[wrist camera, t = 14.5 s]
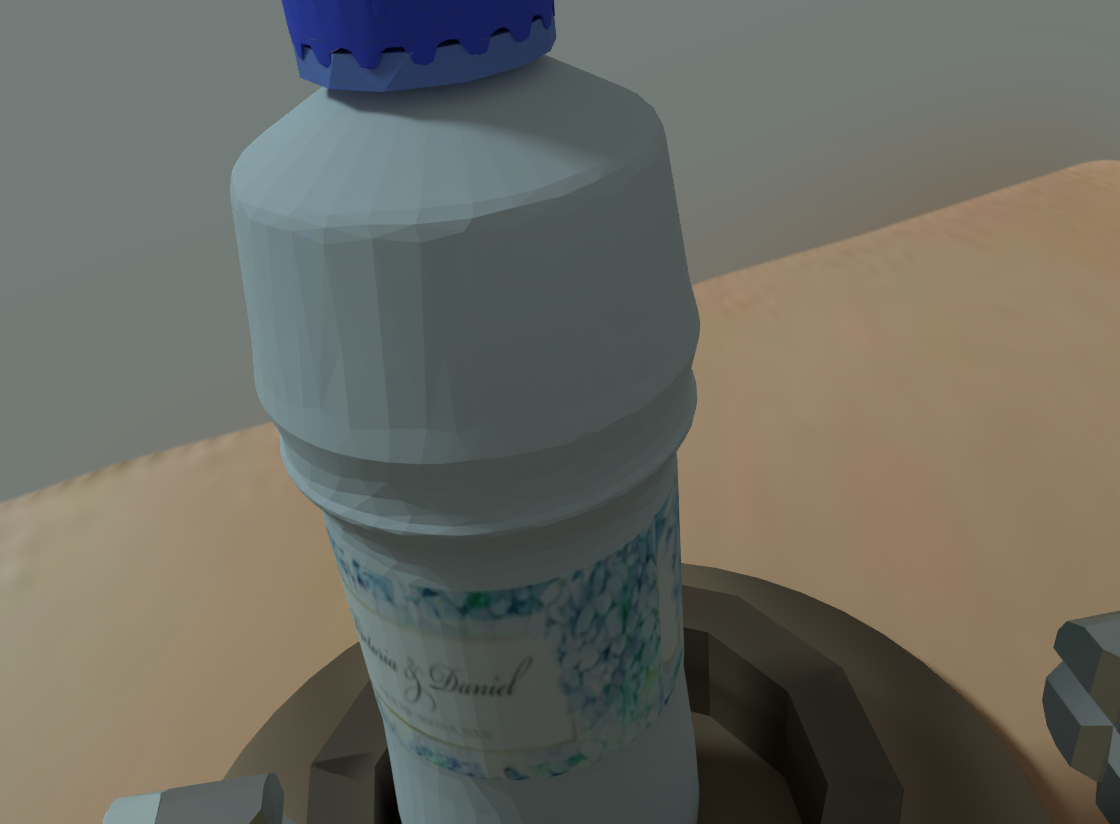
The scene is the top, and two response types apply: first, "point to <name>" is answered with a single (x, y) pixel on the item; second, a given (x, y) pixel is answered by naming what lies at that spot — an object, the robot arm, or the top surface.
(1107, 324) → the top surface
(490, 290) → the bottle
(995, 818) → the coaster
